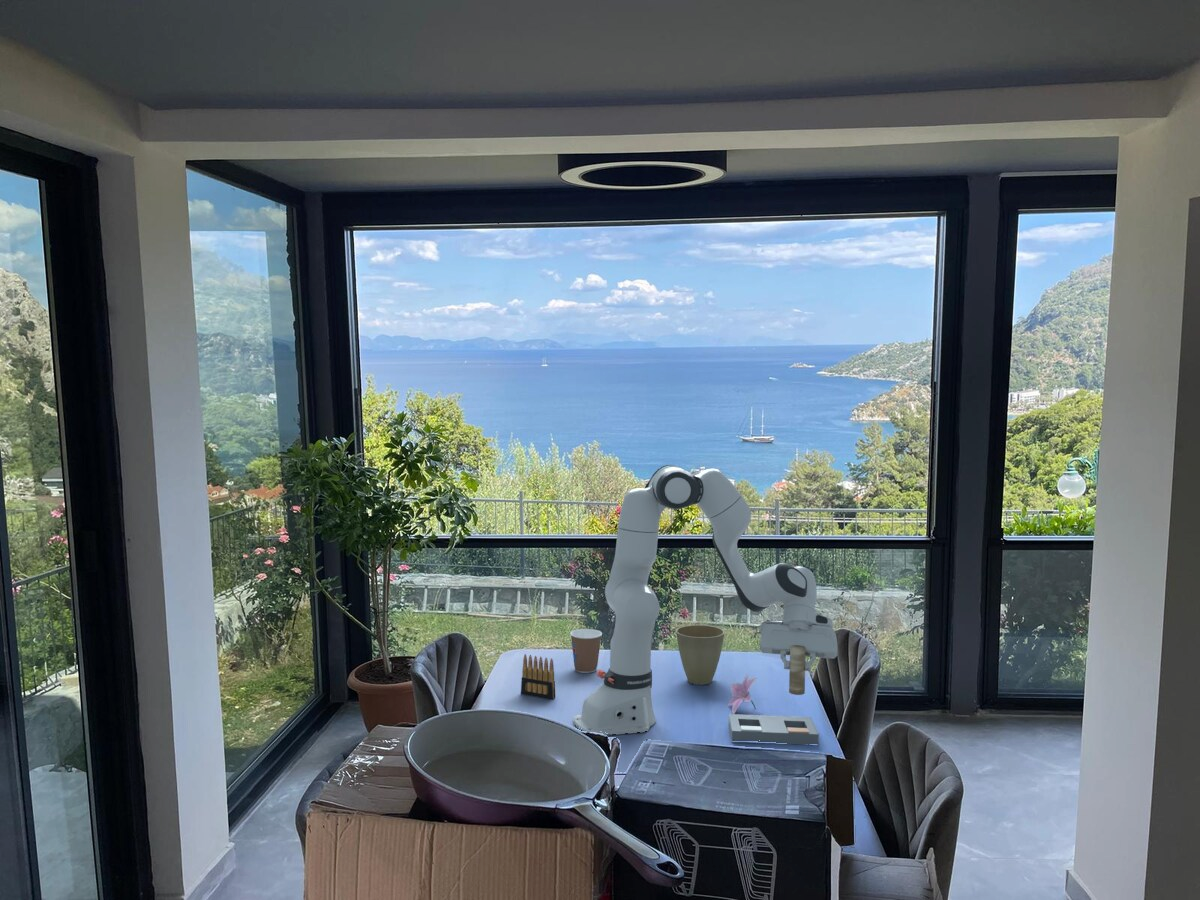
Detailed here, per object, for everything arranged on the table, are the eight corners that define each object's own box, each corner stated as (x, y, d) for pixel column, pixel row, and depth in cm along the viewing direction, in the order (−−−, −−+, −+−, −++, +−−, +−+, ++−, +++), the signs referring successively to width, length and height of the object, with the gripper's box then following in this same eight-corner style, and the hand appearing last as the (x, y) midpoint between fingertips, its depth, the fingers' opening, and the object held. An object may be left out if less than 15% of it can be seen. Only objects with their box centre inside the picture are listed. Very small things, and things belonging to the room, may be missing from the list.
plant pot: (710, 671, 287) (711, 623, 286) (731, 686, 273) (732, 635, 271) (667, 675, 282) (668, 626, 281) (686, 691, 268) (687, 639, 267)
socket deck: (731, 742, 229) (732, 729, 229) (728, 724, 241) (728, 712, 241) (818, 745, 228) (818, 732, 227) (810, 728, 240) (811, 715, 239)
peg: (795, 695, 231) (796, 650, 230) (785, 690, 234) (786, 646, 233) (807, 693, 232) (808, 648, 232) (798, 688, 236) (799, 644, 235)
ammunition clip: (520, 694, 263) (520, 654, 263) (523, 692, 265) (524, 652, 264) (552, 699, 259) (553, 659, 258) (555, 697, 261) (555, 657, 260)
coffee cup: (572, 663, 293) (573, 628, 292) (603, 665, 291) (604, 629, 291) (567, 673, 283) (567, 636, 282) (599, 675, 281) (599, 638, 280)
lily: (733, 702, 262) (719, 676, 259) (770, 691, 258) (757, 665, 256) (730, 728, 251) (716, 702, 248) (770, 718, 247) (756, 690, 245)
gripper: (759, 614, 241) (756, 660, 232) (838, 619, 236) (837, 666, 227) (760, 626, 246) (757, 671, 237) (837, 631, 241) (836, 678, 232)
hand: (797, 669), depth 232 cm, fingers closed on peg, 4 cm apart
